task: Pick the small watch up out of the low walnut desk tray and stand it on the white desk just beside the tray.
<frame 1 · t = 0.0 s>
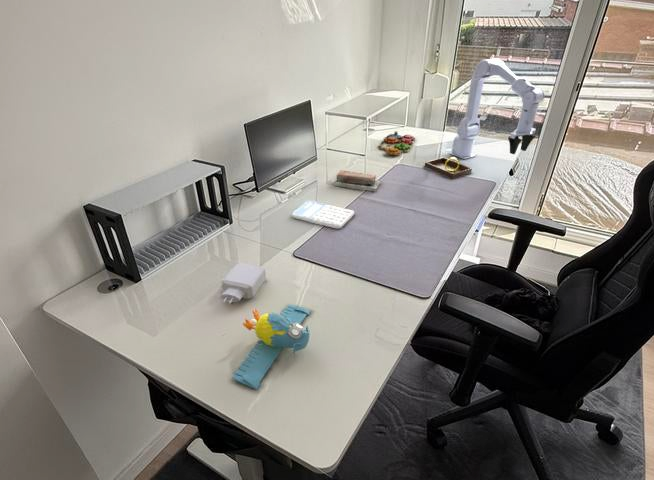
hand: (517, 152, 183), 10 cm above the table, tool pointing down, fingers open, 7 cm apart
charger: (240, 293, 118), on the table
gear puzzle: (395, 147, 219), on the table
packaged product: (357, 185, 179), on the table
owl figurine: (278, 344, 102), on the table
calculator: (323, 216, 156), on the table
tray: (447, 170, 193), on the table
watch: (450, 171, 191), resting in tray
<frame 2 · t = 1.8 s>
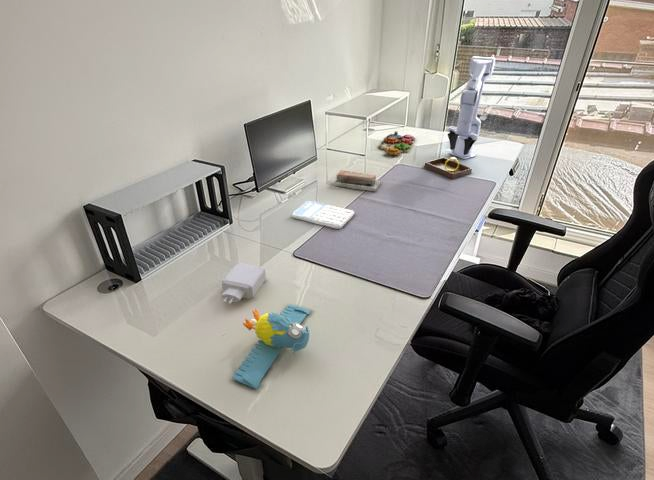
hand: (458, 151, 186), 9 cm above the table, tool pointing down, fingers open, 7 cm apart
nothing on the table moved.
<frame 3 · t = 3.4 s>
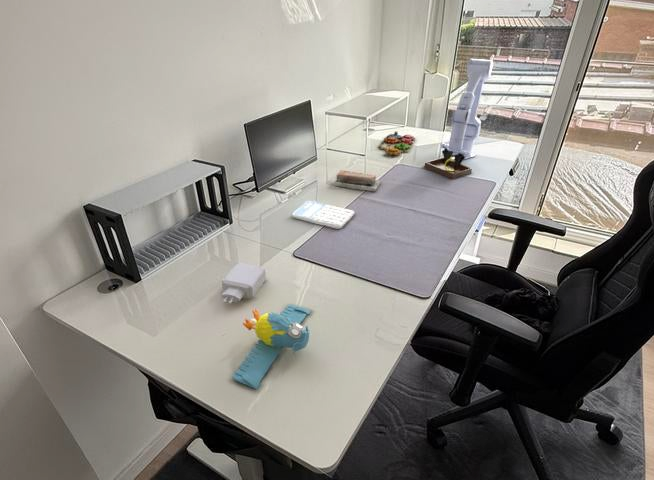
hand: (451, 167, 190), 2 cm above the table, tool pointing down, fingers closed on watch, 5 cm apart
watch: (450, 171, 191), resting in tray, touching gripper
everything else where it was.
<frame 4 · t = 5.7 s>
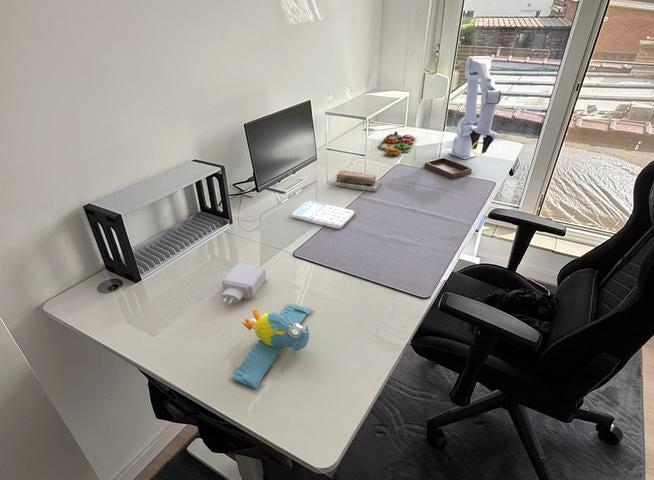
hand: (478, 150, 188), 9 cm above the table, tool pointing down, fingers closed on watch, 5 cm apart
watch: (477, 154, 189), point 7 cm above the table, touching gripper
everything else where it was.
when the fingers open (1 cm above the table, at t = 8.1 s): watch stays where it is, on the table.
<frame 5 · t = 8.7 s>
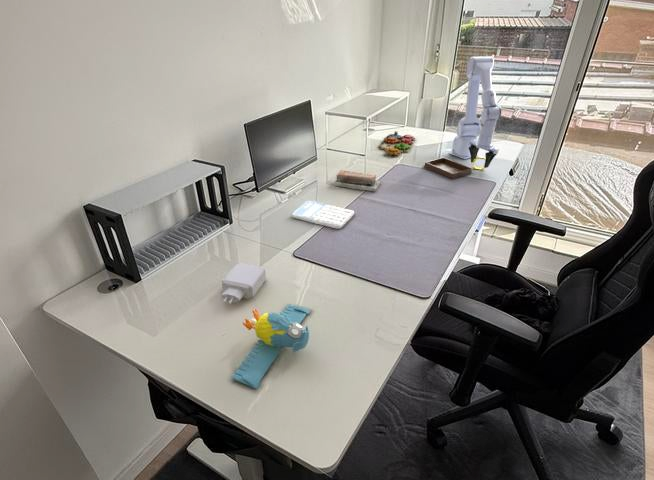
hand: (479, 164, 193), 2 cm above the table, tool pointing down, fingers open, 7 cm apart
watch: (478, 169, 194), on the table
everything else where it was.
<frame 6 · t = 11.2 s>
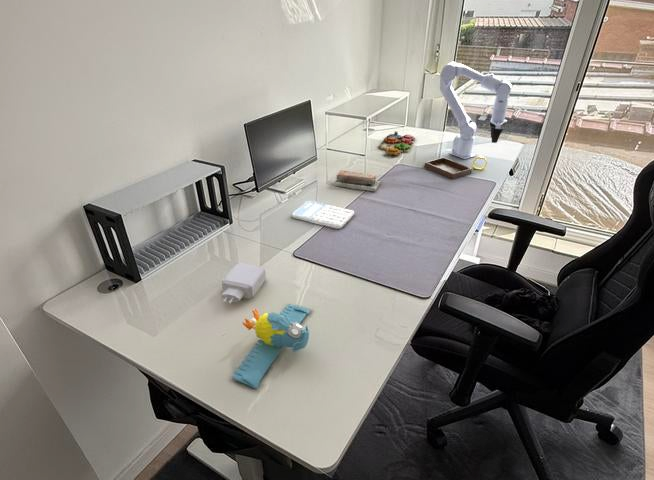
hand: (493, 140, 199), 9 cm above the table, tool pointing down, fingers open, 7 cm apart
nothing on the table moved.
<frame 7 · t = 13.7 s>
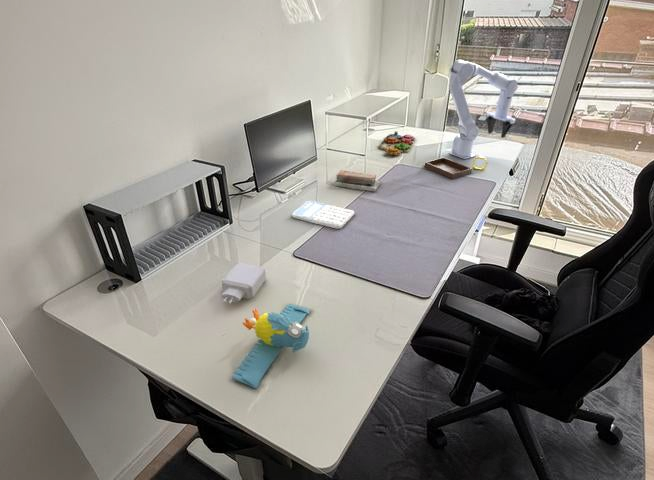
hand: (496, 135, 205), 9 cm above the table, tool pointing down, fingers open, 7 cm apart
nothing on the table moved.
at the end: watch inside the target area (0.1 cm from its centre), on the table; watch touching table; watch tilted 0° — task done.
